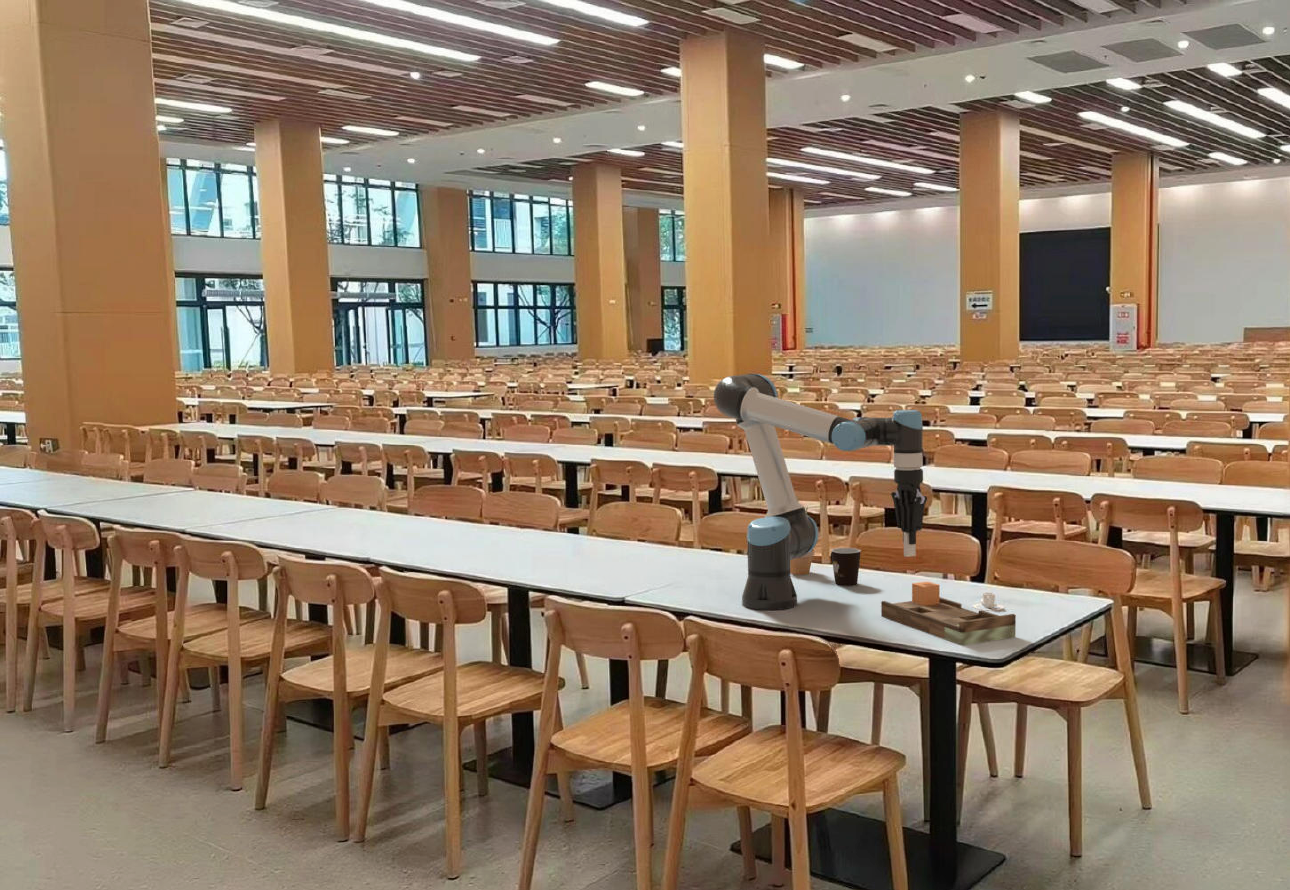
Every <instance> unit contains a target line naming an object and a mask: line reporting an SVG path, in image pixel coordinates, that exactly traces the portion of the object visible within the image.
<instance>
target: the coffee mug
mask: <svg viewBox="0 0 1290 890" xmlns="http://www.w3.org/2000/svg"><path fill="white" fill-rule="evenodd" d="M861 551H862V550H861V549H859V548H853V547H838V548H833V549H831V550H830V552H831V553H830V556H829V557H830V561H831V563H832V569H833V570H832V571H833V576H834V577H833V578H834V584H835V585H836V586H837V587H838V586H840V587H853V586H857V585H858V581H859V580H858V579H859V571H860V569H859V568H860V563H861V562H860V561H861Z"/></svg>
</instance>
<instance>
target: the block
mask: <svg viewBox="0 0 1290 890" xmlns="http://www.w3.org/2000/svg"><path fill="white" fill-rule="evenodd" d="M939 597H940V584H938V583H934V582H932V581H928V580H927V581H919V582H912V584H911V601H912V602H914V603H917V604H920V605H923V606H926V605H933V604H939Z"/></svg>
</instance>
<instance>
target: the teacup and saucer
mask: <svg viewBox="0 0 1290 890" xmlns="http://www.w3.org/2000/svg"><path fill="white" fill-rule="evenodd" d="M995 601H996V593H994V592H983V593H982V598H981V599H980V603H977V604H973V606H972V607H973V608H974V609H976V610H978V611H980V610H982V611H986V612H988V611H990V612H991V611H992V612H993V611H1001V610H1004V609H1005V607H1004V606H1003V605H1002V604H996V603H995ZM979 606H984V608H985V609H984V608H980V607H979ZM994 606H996V607H999V608H996V609H993V608H994Z"/></svg>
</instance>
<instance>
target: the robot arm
mask: <svg viewBox="0 0 1290 890" xmlns="http://www.w3.org/2000/svg"><path fill="white" fill-rule="evenodd" d="M713 402H714V404H715V407H716V409H717V410H718V412H719V413H721V414H722V415H724V416H726V417H729V418H733V419H735V422H736V424H737V427H739V428H740V429H742V430H743V431H744V434H745V438H746V440H747V444H748V447H749V449H750V450H749V451H750V453H751V456H752V460H753V463H754V467H755V470H756V474H757V476H758V480H759V483H760V488H761V491H762V494H763V498H764V500H765V504H766V508H767V512H766V514H765V516H764V517H760V518H755V519H754V520H752V521H751V522H750V523H749V524H748V526H747V533H746V542H747V543H746V544H747V579H746V582H745V585H744V589H743V592H742V596H741V604H742V606H744V607H745V608H748V609H752V610H753V609H754V610H762V611H763V610H766V611H769V610H770V611H771V610H772V611H773V610H775V611H776V610H785V609H790V608H794V607H796V606H797V605H798V594H797V591H796V589H795V586H794V583H793V580H792V576H791V573H790V560H792V559H795V558H799V557H802V556H804V555H806V554H807V553H809V552H810V551H811V550H812V549H814V548H815V547H816V546H817V543H818V540H819V528H818V526H817V523H816V521H815V519H813V518H810V517H811V516H809V515H808V513H807V514H806V507H805V505H804V504H801V503H800V502H799V503H798V502H797V497H796V496H797V495H796V494H795V490H794V486H793V483H792V480H791V476H790V473H789V470H788V467H787V464H786V460H785V457H784V453H783V450H782V446H781V444H780V440H779V435H778V433H777V430H776V428H779V429H783V430H786V431H789V432H793V433H796V434H799V435H802V436H805V437H809V438H811V439H815V440H818V441H821V442H825V443H827V444H831V445H834V446H835V447H836V448H837V449H838V450H840V451H842V452H843V451H844V452H853V451H857V450H860V449H863V448H868V447H872V446H890V447H891V446H893V467H894V468H895V469H894V471H893V476H894V477H893V479H894V483H895V484H897V486H896V491H892V492H891V493H890V495H891V498H892V500H893V506H894V512H895V519H896V525H897V529H901V532H902V542H903V556H904V557H905V558H909V557H916V553H917V551H916V544H917V532H919V531H921V530H922V529H923V520H924V512H925V506H926V503H927V501H928V497H927V496H926V495H924V496H923V494H922V493H921V492H922V489H921V484H923V482H924V470H923V469H922V467H924V465H923V464H924V463H923V462H924V461H923V452H924V451H923V437H924V436H923V431H924V430H923V429H924V426H923V418H922V417H923V415H922V412H921V411H919V410H917V409H900V410H899V409H898V410H894V411H893V414H892V417H868V416H862V417H861V416H860V417H854V418H853V419H849V418H846V417H844V416H843V417H842V416H839V415H835V414H833V413H829V412H825V411H822V410H819V409H815V408H812V407H809V406H805V405H802V404H799V403H796V402H792V401H788V400H785V399H782V398H779V397H778V391H777V389H776V386H775V384H774V382H773V381H772V380H771V379H770V378H768V376H765V375H763V374H759V373H746V374H739V375H729V376H726V377H725V378H722V379H721V380H720V381H719V382H718V383H717V384H716V386H715V389H714V391H713Z"/></svg>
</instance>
